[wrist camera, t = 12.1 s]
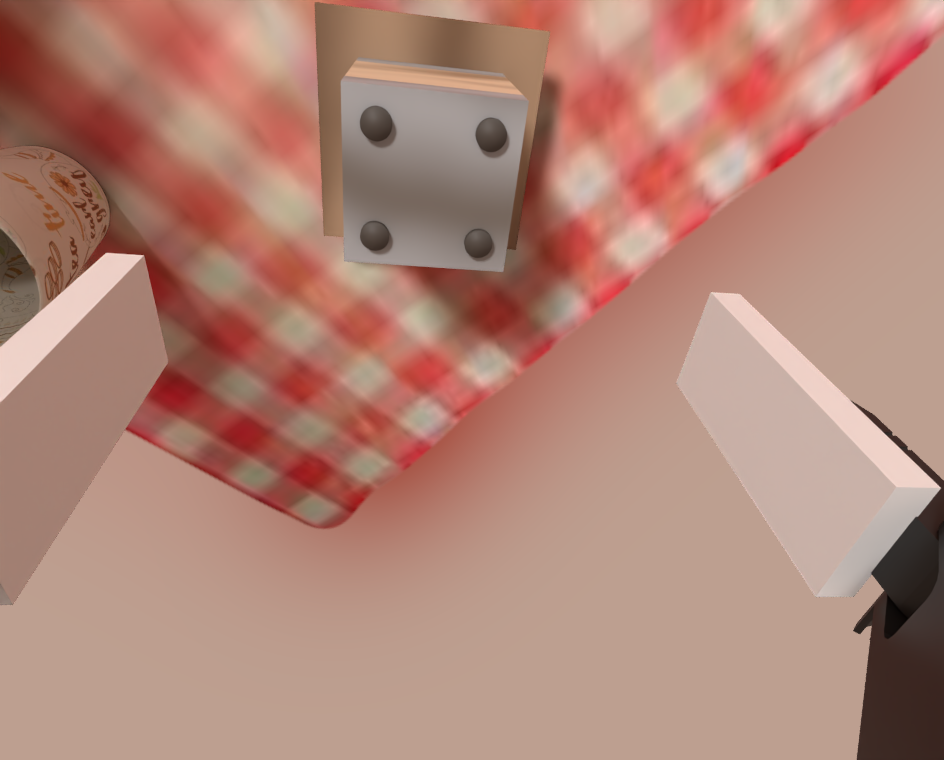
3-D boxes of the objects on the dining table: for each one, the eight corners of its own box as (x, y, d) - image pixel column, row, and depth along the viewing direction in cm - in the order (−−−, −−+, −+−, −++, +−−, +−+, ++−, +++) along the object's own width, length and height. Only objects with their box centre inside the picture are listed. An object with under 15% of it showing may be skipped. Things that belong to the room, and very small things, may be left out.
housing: (358, 57, 27) (339, 82, 21) (502, 73, 28) (530, 102, 21) (358, 202, 31) (343, 264, 24) (485, 212, 32) (504, 274, 25)
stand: (330, 217, 35) (323, 235, 32) (323, 0, 28) (314, 2, 26) (508, 231, 36) (515, 249, 34) (539, 27, 30) (550, 31, 27)
